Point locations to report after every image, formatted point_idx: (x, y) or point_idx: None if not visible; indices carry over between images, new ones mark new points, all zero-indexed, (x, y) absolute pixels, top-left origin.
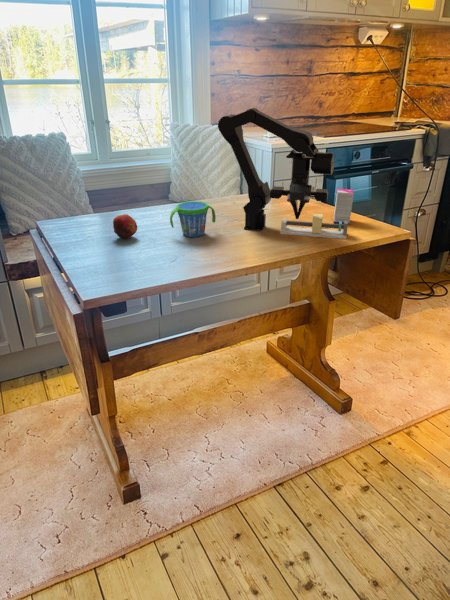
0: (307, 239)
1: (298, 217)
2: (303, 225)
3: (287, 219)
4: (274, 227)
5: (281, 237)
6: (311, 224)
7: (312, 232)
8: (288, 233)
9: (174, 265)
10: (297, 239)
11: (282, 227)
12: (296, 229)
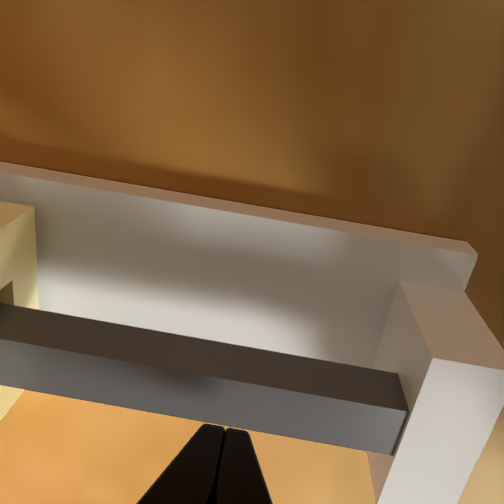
0: (96, 37)
1: (195, 441)
2: (134, 333)
3: (376, 497)
4: (492, 454)
5: (479, 100)
6: (1, 326)
7: (22, 207)
8: (359, 230)
9: None
10: (242, 23)
11: (460, 316)
12: (243, 344)
